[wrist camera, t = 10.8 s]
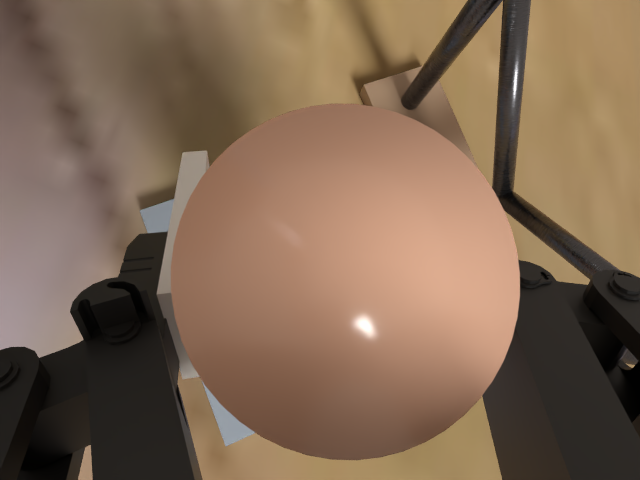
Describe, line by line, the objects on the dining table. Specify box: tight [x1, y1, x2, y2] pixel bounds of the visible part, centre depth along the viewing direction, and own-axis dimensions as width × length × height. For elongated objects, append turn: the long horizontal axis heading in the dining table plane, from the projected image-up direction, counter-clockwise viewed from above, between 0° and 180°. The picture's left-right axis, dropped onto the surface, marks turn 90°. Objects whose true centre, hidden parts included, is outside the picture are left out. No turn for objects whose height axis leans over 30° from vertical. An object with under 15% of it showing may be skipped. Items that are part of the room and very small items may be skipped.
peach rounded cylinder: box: [171, 104, 520, 460], centre depth 12 cm, size 6×6×11 cm
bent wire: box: [401, 0, 638, 365], centre depth 20 cm, size 17×1×12 cm, turn 22°
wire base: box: [360, 66, 519, 260], centre depth 27 cm, size 20×5×1 cm, turn 22°
